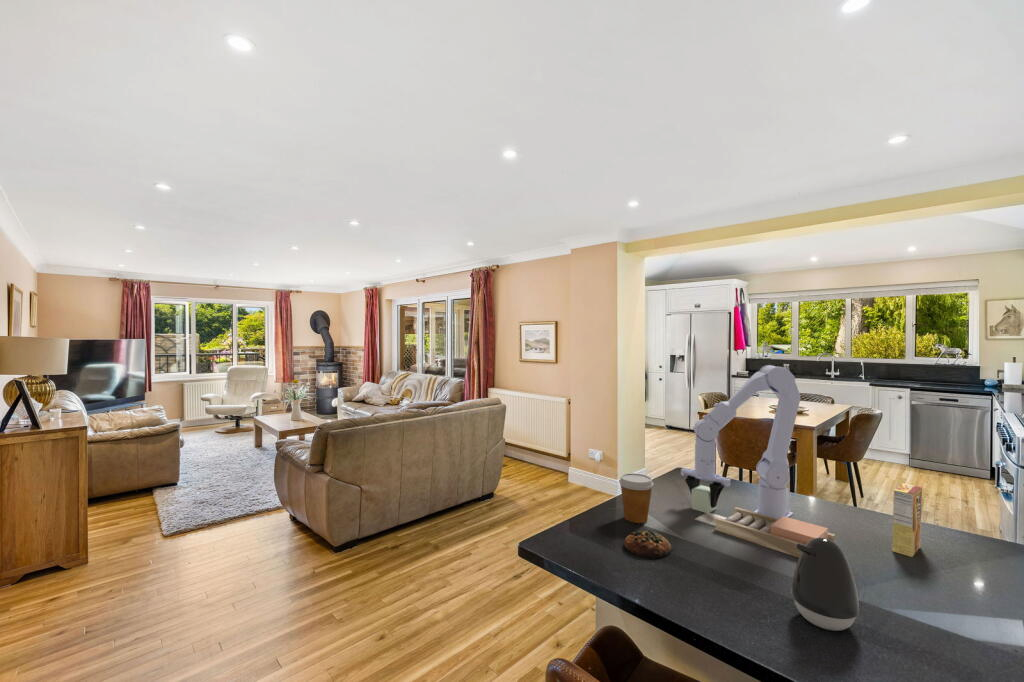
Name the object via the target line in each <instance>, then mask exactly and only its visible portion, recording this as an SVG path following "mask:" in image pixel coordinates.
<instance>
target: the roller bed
mask: <svg viewBox="0 0 1024 682" xmlns="http://www.w3.org/2000/svg"><path fill="white" fill-rule="evenodd" d="M777 520H779V519H777V518H774V517H770V516H767V515H763V514H759V513H756V512H754V511H752V510H748V509H745V508H741V507H738V506H736V507H734V509H733V514H732V515H730V516H728V517H726V516H722V515H718V514H716V513H713V512H710V513H705V512H704V514H702V515H699V516H697V517H696V518H694V521H698V522H702V523H705V524H708V525H711V526H714V531H717V532H720V533H724V534H727V535H729V536H732V537H737V538H739V539H742V540H745V541H748V542H751V543H754V544H756V545H759V546H762V547H765V548H768V549H772V550H773V551H774V550H775V551H777V552H781V553H784V554H787V555H790V556H793V557H794V558H795V557H796V558H798V559H799V557H800V555H801V553H802V551H801V550H799V549H797V544H802V545H806V544H803V543H800V542H797V541H793V540H790V539H787V538H783V537H780V536H777V535H774V534H771V525H772V524H773V523H774V522H776V521H777ZM828 539H829V540H832V541H833V542H835V543H836V534H834V533H830V532H828Z"/></svg>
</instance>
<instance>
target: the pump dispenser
mask: <svg viewBox="0 0 1024 682" xmlns="http://www.w3.org/2000/svg"><path fill="white" fill-rule="evenodd" d="M797 549H799V550H801V551H802V553H801V555H800V557H799V558H798V559H797V562H796V565H795V568H794V572H793V576H792V582H791V586H790V587H791V591H790V594H791V596H792V599H793V601H794V604H795V607H796V608H797V610H798V612H799V613H800V614H801V615H802V617H803V618H804V619H805V620H807V621H808V622H809V623H810V624H812V625H814V626H816V627H818V628H821V629H824V630H827V631H844V630H846V629H848V628H849V627H851V626H852V625H853V623H854V622H855V620H856V618H857V617H858V616H859V613H860V603H859V597H858V591H857V590H858V589H857V585H856V582H855V578H854V573H853V571H852V568H851V566H850V564H849V561H848V559H847V557H846V555H845V553H844V552H843V550H842V548H841V547H840V546H839V545H838V543H836V541H835V542H833V541H832V540H829V539H827V538H821V537H820V538H814V539H812V540H811V541H809V542H808V544H807V545H802V544H797Z"/></svg>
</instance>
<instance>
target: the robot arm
mask: <svg viewBox="0 0 1024 682" xmlns="http://www.w3.org/2000/svg"><path fill="white" fill-rule="evenodd" d="M769 390H771V391H772V392H773V393H774V395H775V396H776V397H777V399H778V401H777V405H776V406H777V407H776V410H775V413H774V414H775V415H774V419H773V422H772V426H771V431H770V436H769V439H768V444H767V449H766V450H765V451H764V452H763V454H762V457H761V459H760V460H759V461H758V462H757V463H756V467H755V469H756V474H757V475H758V476H759V479H758V483H757V487H758V488H757V489H758V492H757V493H758V494H757V509H756V510H754V511H753V512H756V513H759V514H763V515H767V516H770V517H774V518H777V519H780V518H782V517H783V516H784V517H788V518H791V516H793V514H794V512H791V511H790V490H789V488H788V486H787V485H788V484H789V483H790V479H791V477H790V474H789V467H790V463H789V459H788V453H789V448H790V443H791V440H792V437H793V431H794V427H795V423H796V419H797V415H798V412H799V411H798V410H799V406H800V402H801V394H800V391H799V389H798V385H797V383H796V376H795V375H793V373H792V372H791V371H790V370H789V369H788V368H786V367H784V366H775V365H773V364H768V365H767V364H766V365H764V366H762V367H761V368H760V369H759V370H758V371H756V372H755V373H753V374H752V376H751V377H750V378H749V379H748V380H747V381H746V382H745V383H744V384H742V386H741V387H740V388H739V389H738V390H737V391H736V392H735V393H734V394H733V395H732V396H731V397H730V398H729V399H728V400H727V401H719V403H718V402H716V403H714V404H713V408H712V409H711V410H710V411H709V412H708V413H707V414H704V415H702V418H701V419H699V420H697V421H695V423H694V426H693V431H694V433H695V444H694V469H690V468H681V469H680V476H683V477H685V476H686V478H685V480H684V481H685V483H686V485H687V487H688V489H689V491H690V494H691V496H692V489H693V488H695V487H698V486H700V484H701V483H700V482H701V480H702V481H705V482H710V484H709V486H708V487H710V492H711V507H712V508H714V507H716V505H717V506H718V502H719V498H720V495H721V493H722V491H723V489H724V488H725V487H726V488H728V487H730V486H731V481H732V480H731V478H728V477H725V476H722V475H719V474H717V473H716V438H718V436H719V432H720V430H722V429H723V428H724V427H725V426H726V425H727V424H728V423H730V422H731V421H732V420H733V419H734V418H735V417H736V416H737V410H738V408H740V407H741V406H742V405H744V403H745V402H747V401H748V400H749V399H751V398H752V397H753V396H754V395H755V394H756V393H759V392H763V391H769Z"/></svg>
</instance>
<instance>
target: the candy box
mask: <svg viewBox="0 0 1024 682" xmlns="http://www.w3.org/2000/svg"><path fill="white" fill-rule="evenodd" d="M922 492H923V487H922V486H918V485H914V484H913V485H912V484H909V483H908V484H907V483H904V482H903V483H900V484H899V485H898V486H897V487H896V488H894V489H893V508H892V509H893V510H892V511H893V513H892V515H893V516H892V542H891V544H892V545H891V546H892V547H891V549H892V551H891V552H893V553H896V554H901V555H904V556H907V557H909V558H913V557H914V556H915V555H916V553H917V552H918V551H919V550H920V548H921V528H922V506H923V505H922V502H923V501H922V499H923V497H922V494H923V493H922ZM918 549H919V550H918Z"/></svg>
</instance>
